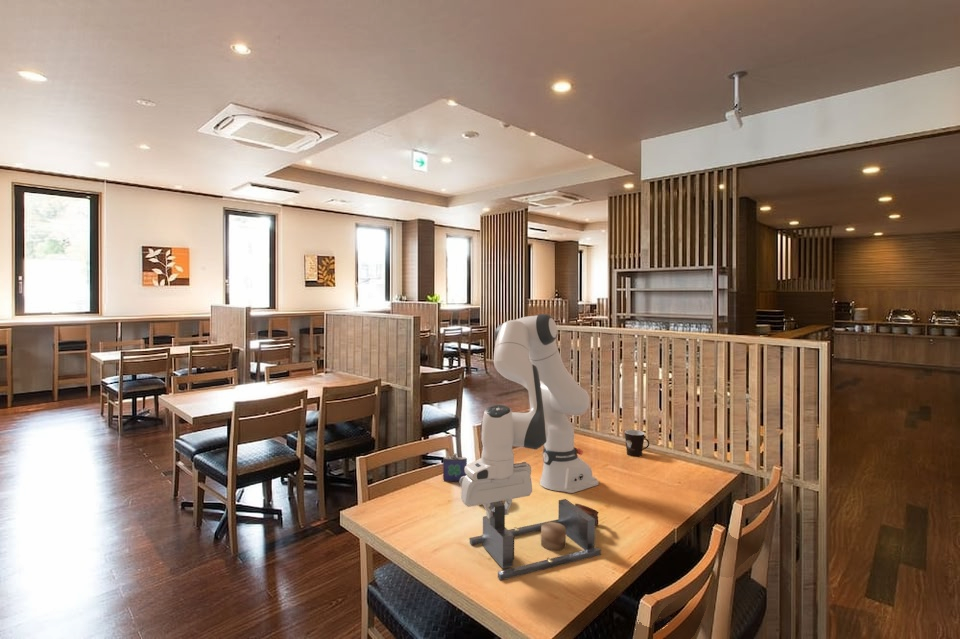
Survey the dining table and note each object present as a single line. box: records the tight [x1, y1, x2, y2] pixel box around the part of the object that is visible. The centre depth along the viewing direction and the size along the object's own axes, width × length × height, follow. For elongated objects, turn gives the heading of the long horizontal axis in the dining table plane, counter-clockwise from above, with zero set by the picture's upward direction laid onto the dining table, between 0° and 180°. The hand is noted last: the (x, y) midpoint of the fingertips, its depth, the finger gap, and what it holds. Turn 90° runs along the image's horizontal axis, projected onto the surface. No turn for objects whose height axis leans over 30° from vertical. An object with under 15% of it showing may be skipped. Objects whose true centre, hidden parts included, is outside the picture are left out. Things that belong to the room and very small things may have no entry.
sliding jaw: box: [482, 501, 515, 570], centre depth 136 cm, size 4×13×14 cm, turn 23°
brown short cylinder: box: [540, 521, 567, 552], centre depth 144 cm, size 7×7×5 cm
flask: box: [442, 452, 468, 483], centre depth 192 cm, size 9×3×11 cm, turn 87°
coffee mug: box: [624, 429, 650, 458], centre depth 222 cm, size 12×9×10 cm
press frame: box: [469, 498, 602, 581], centre depth 141 cm, size 31×21×9 cm
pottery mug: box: [574, 503, 599, 527], centre depth 153 cm, size 12×10×8 cm
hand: (497, 515), depth 136 cm, fingers closed on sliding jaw, 3 cm apart
